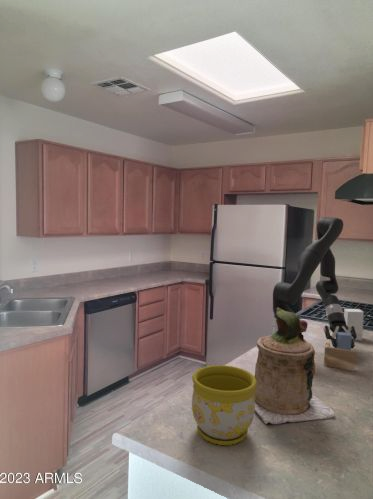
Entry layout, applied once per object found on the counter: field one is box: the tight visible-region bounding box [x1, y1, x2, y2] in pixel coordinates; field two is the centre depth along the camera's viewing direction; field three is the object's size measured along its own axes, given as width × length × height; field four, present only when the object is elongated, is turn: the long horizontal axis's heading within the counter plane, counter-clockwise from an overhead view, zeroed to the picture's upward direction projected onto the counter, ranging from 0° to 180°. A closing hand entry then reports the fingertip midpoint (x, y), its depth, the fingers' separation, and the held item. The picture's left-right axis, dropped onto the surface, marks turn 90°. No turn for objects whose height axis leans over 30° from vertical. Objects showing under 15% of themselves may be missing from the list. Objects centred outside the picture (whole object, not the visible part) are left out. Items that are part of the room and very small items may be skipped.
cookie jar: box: [253, 308, 335, 425], centre depth 122 cm, size 25×25×32 cm
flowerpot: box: [191, 364, 257, 446], centre depth 104 cm, size 18×18×16 cm
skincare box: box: [343, 308, 365, 341], centre depth 195 cm, size 8×7×16 cm
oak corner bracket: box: [323, 339, 357, 372], centre depth 159 cm, size 11×12×8 cm
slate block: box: [335, 332, 352, 350], centre depth 167 cm, size 5×5×11 cm
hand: (344, 347), depth 166 cm, fingers open, 7 cm apart
